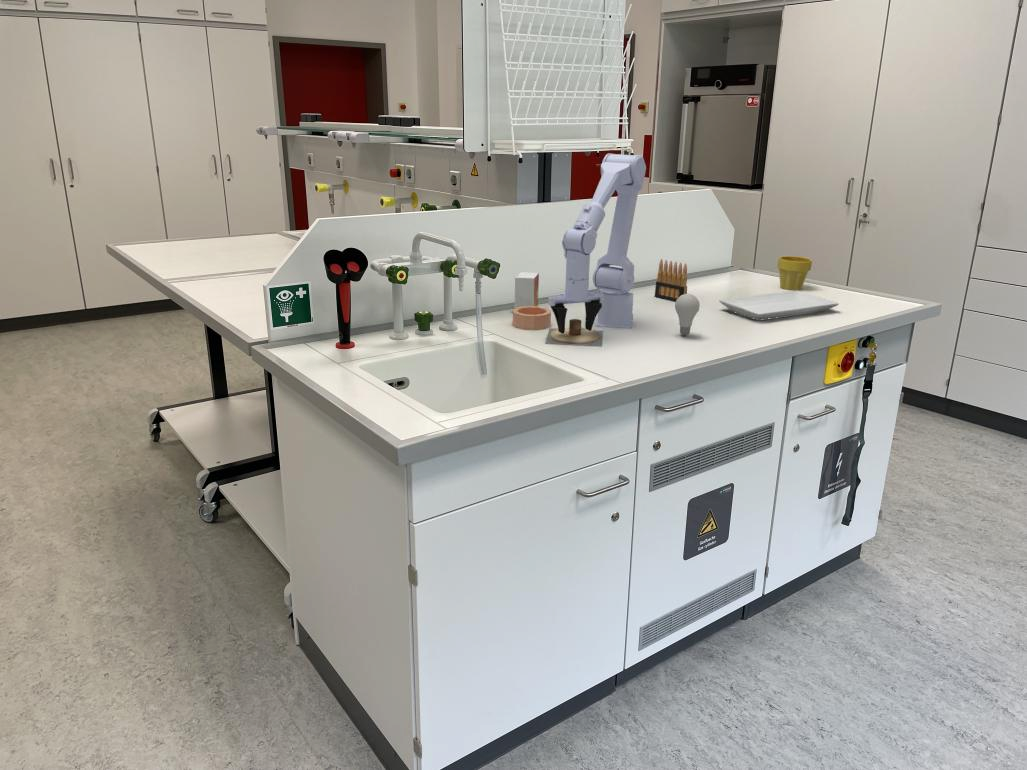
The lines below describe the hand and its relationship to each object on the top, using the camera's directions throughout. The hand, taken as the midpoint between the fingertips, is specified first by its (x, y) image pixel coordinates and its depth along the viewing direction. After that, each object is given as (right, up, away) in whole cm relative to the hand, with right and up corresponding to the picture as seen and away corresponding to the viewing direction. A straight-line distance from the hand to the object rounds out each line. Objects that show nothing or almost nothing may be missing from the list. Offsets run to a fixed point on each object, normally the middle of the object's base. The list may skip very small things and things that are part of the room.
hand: (575, 330), depth 192 cm
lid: (0, -1, +1) cm, 2 cm away
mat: (0, -2, +1) cm, 2 cm away
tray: (+62, +7, +30) cm, 69 cm away
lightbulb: (+29, -1, +4) cm, 29 cm away
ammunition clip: (+32, +12, +41) cm, 53 cm away
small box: (-12, +7, +26) cm, 29 cm away
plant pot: (+76, +18, +58) cm, 98 cm away
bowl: (-11, +2, +11) cm, 16 cm away
